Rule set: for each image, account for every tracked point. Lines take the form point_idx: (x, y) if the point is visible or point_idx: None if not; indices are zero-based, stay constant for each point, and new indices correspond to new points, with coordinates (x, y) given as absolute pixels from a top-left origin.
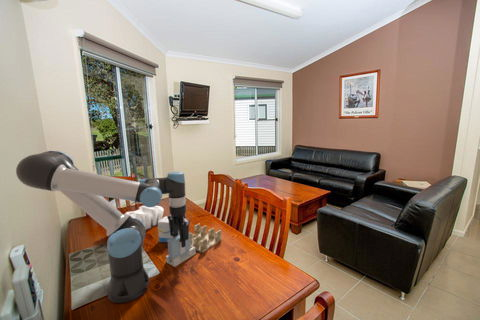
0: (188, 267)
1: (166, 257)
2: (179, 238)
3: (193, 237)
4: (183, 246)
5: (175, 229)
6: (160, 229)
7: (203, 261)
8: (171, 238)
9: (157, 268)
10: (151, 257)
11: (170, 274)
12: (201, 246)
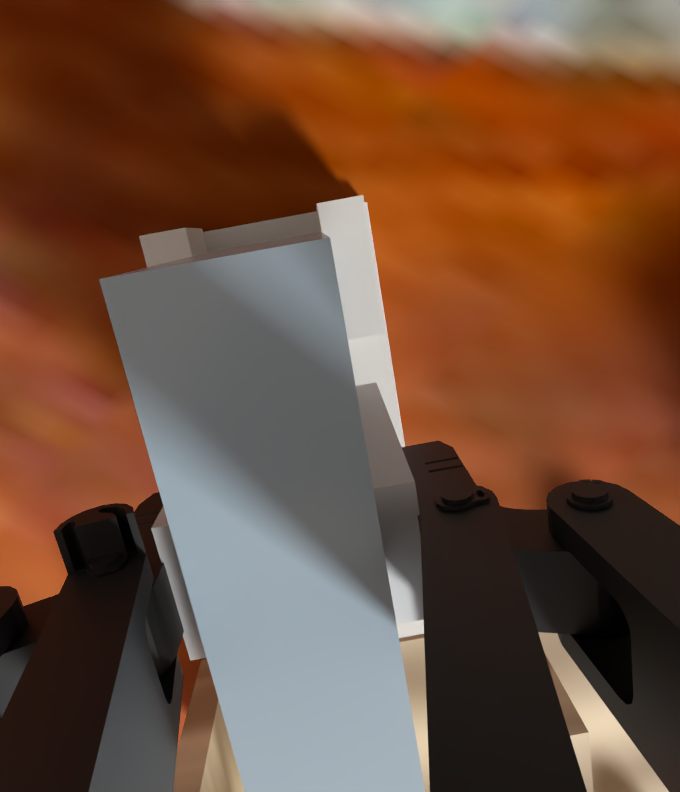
0: (18, 374)
1: (342, 199)
2: (183, 571)
3: (601, 772)
4: (139, 512)
5: (429, 757)
6: None
7: (15, 578)
8: (353, 395)
9: (311, 23)
10: (666, 96)
11: (27, 100)
12: (187, 736)
